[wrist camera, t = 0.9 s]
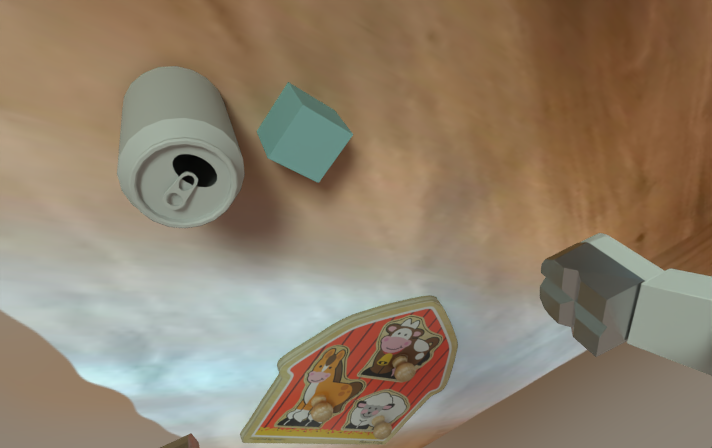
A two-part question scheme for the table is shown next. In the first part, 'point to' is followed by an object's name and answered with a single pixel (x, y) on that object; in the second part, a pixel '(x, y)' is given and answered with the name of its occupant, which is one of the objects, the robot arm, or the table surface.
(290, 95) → the teal block
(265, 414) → the knob puzzle
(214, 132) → the can
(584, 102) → the table surface
